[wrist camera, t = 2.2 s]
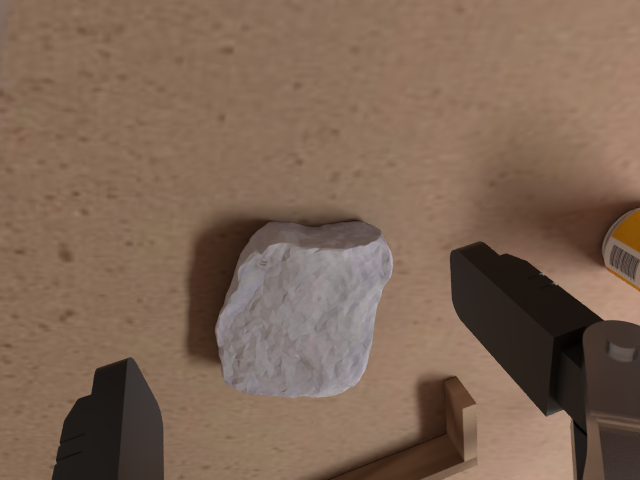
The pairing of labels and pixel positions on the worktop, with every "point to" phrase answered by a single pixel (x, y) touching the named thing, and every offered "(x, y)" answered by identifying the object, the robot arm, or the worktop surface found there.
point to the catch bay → (433, 446)
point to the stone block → (303, 309)
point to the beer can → (624, 248)
